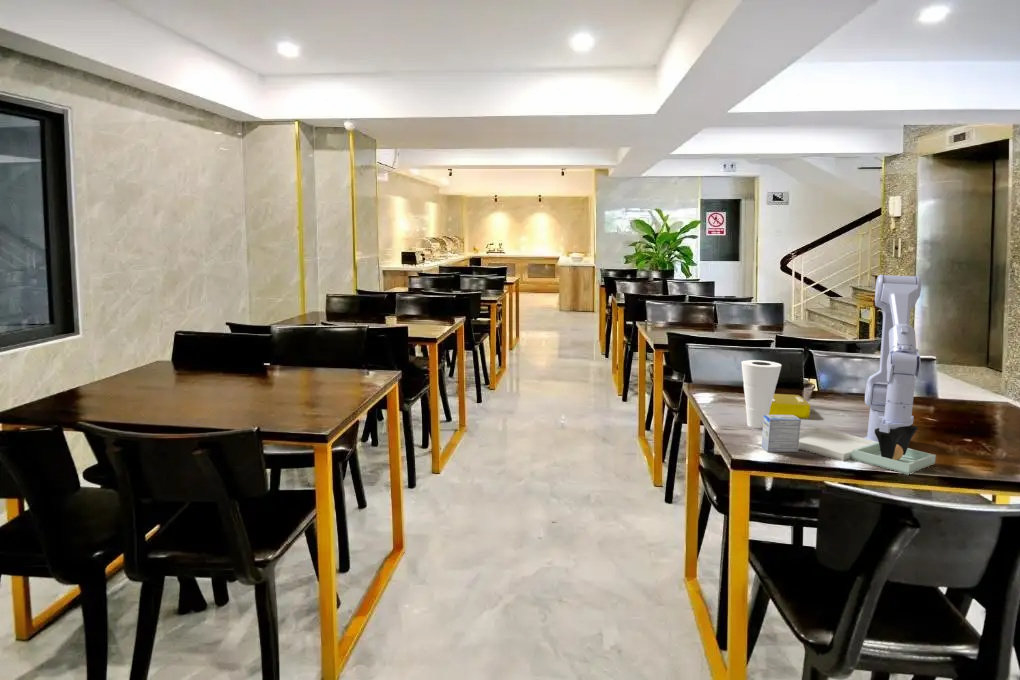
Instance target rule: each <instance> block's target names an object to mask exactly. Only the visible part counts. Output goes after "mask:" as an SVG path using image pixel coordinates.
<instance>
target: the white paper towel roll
mask: <svg viewBox="0 0 1020 680" xmlns="http://www.w3.org/2000/svg"><path fill="white" fill-rule="evenodd" d="M740 363H741V374H742V382H743V392H744V400H745V401H744V403H745V412H746V413H745V414H746V424H747V426H748V428H752V429H763V419H764V415H769V412H770V406H771V404H772V400H773V396H774V394H775V391H776V387H777V384H778V380H779V377H780V373H781V369H782V364H781V363H779V362H776V361H770V360H759V359H758V360H757V359H748V360H742V361H741V362H740Z"/></svg>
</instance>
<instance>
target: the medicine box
mask: <svg viewBox="0 0 1020 680" xmlns="http://www.w3.org/2000/svg"><path fill="white" fill-rule="evenodd" d="M801 424H802V420H801V418H798V417H796V416H794V415H764V419H763V428H762V435H761V448H762V449H763V450H765V451H766V452H767V453H798V452H799V449H798V447H799V436H800V430H801V426H802V425H801Z"/></svg>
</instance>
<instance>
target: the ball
mask: <svg viewBox="0 0 1020 680" xmlns="http://www.w3.org/2000/svg"><path fill="white" fill-rule="evenodd" d="M902 456H903V449H902V448H901V446H899V445H898V444H897V445H896V448H895V452H894V456H893V460H899V459H900V458H902Z"/></svg>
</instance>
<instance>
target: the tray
mask: <svg viewBox="0 0 1020 680" xmlns="http://www.w3.org/2000/svg"><path fill="white" fill-rule="evenodd" d="M876 442H877V441H873V440H869V439H865V438H864V437H860V436H856V435H852V434H848V433H843V432H839V431H836V430H832V429H827V428H823V427H821V426H811V427H809V428H804V429H800V436H799V447H798V450H801V449H802V450H801V451H804V450H805V451H806V452H808V451H809V452H808V453H813V454H815V453H816V455H819V456H824V457H827V458H830V457H831V458H830V459H834V458H835V460H837V459H839V460H838V461H841V460H843V461H842V462H845V461H847V459H848V460H852V450H854V449H857V448H860V447H863V446H867V445H870V444H873V443H876ZM844 460H845V461H844Z"/></svg>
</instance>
